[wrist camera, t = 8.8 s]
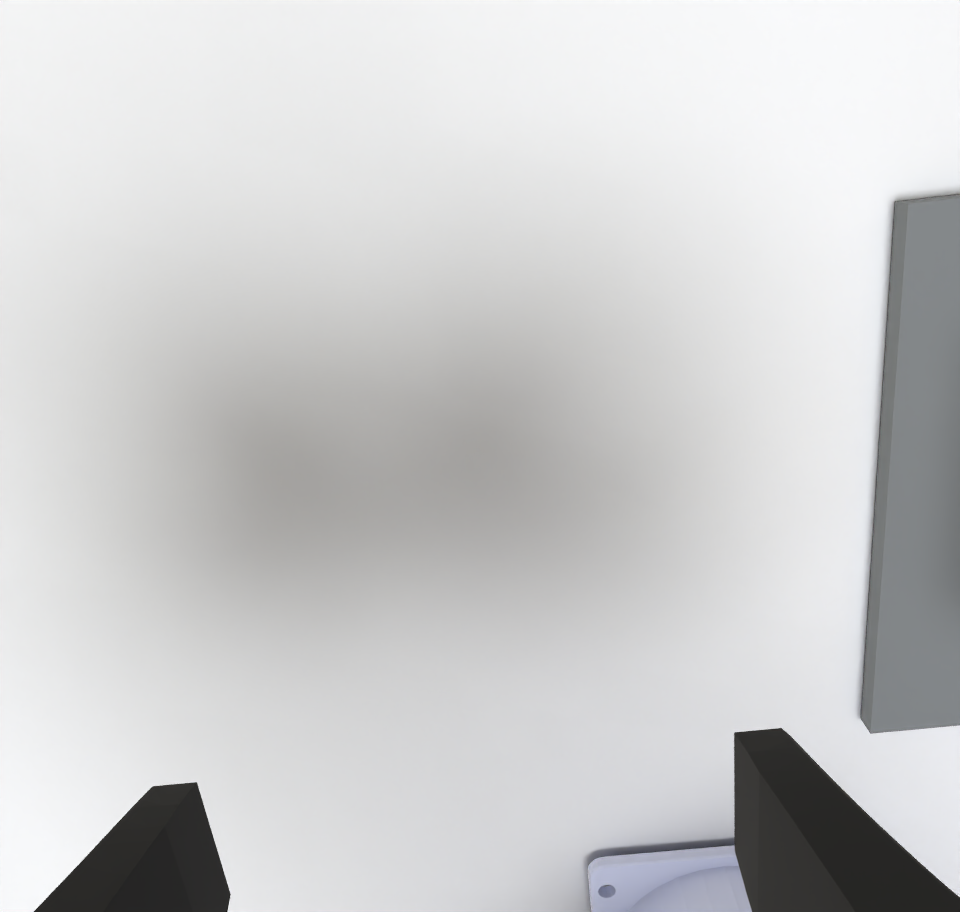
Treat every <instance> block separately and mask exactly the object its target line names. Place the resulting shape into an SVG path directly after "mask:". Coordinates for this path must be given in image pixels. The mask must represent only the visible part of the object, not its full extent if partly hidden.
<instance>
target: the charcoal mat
mask: <svg viewBox="0 0 960 912" xmlns="http://www.w3.org/2000/svg"><path fill="white" fill-rule="evenodd" d="M861 720H862V721H863V723H864V724H865V726H866V727H867V729H868V730H869V732H870V733H881V732H892V731H903V730H914V729H924V728H935V727H946V726H957V725H960V194H957V195H948V196H940V197H931V198H923V199H914V200H905V201H897V202H895V213H894V228H893V243H892V258H891V273H890V288H889V304H888V319H887V334H886V349H885V364H884V379H883V394H882V410H881V425H880V440H879V455H878V470H877V485H876V500H875V516H874V531H873V546H872V561H871V576H870V591H869V606H868V622H867V637H866V652H865V667H864V682H863V697H862V712H861Z"/></svg>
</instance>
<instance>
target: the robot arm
mask: <svg viewBox="0 0 960 912" xmlns="http://www.w3.org/2000/svg"><path fill="white" fill-rule="evenodd" d="M734 773H735V845H731V846H720V847H708V848H697V849H685V850H674V851H662V852H651V853H640V854H628V855H617V856H605V857H600V858H597V859H595V860H593V861H592V862H591V863H590V865H589V866H588V880H589V892H590V903H591V912H960V897H958V896H957V895H956V894H955V893H954V892H953V891H951V890H950V889H949V888H948V887H947V886H945V885H944V884H943V883H942V882H941V881H940V880H939V879H937V878H936V877H935V876H934V875H933V874H932V873H931V872H930V871H928V870H927V869H926V868H925V867H924V866H923V865H922V864H921V863H919V862H918V861H917V860H916V859H915V858H914V857H913V856H912V855H911V854H910V853H909V852H908V851H906V850H905V849H904V848H903V847H902V846H901V845H900V844H899V843H898V842H897V841H896V840H895V839H893V838H892V837H891V836H890V835H889V834H888V833H887V832H886V831H885V830H884V829H883V828H882V827H881V826H879V825H878V824H877V823H876V822H875V821H874V820H873V819H872V818H871V817H870V816H869V815H868V814H867V813H866V812H865V811H864V810H863V809H862V808H861V807H860V806H859V805H858V804H857V803H856V802H855V801H854V800H853V799H852V798H851V797H850V796H849V795H848V794H847V793H846V792H845V791H844V790H843V789H842V788H841V787H840V786H839V785H838V784H836V783H835V781H834V780H833V779H832V778H831V777H830V776H829V775H828V774H827V773H826V772H825V771H824V770H823V769H822V768H821V767H820V766H819V765H818V764H817V763H816V762H815V761H814V760H813V759H812V758H811V757H810V756H809V755H808V754H807V753H806V752H805V751H804V750H803V749H802V748H801V746H800V745H799V744H798V743H797V742H796V741H795V740H794V739H793V738H792V737H791V736H790V735H789V734H788V733H786V732H785V731H784V730H783V729H782V728H778V729H768V730H757V731H746V732H735V733H734ZM604 885H610V886H606V887H603V886H604ZM229 900H230V891H229V888H228V885H227V881H226V878H225V875H224V871H223V868H222V865H221V861H220V858H219V855H218V852H217V848H216V845H215V842H214V838H213V835H212V832H211V828H210V825H209V822H208V818H207V815H206V812H205V808H204V805H203V802H202V798H201V795H200V792H199V788H198V785H197V782H195V783H184V784H174V785H163V786H153V787H152V788H151V789H150V790H149V791H148V792H147V793H146V794H145V795H144V796H143V797H142V798H141V799H140V800H139V801H138V802H137V803H136V804H135V805H134V806H133V807H132V808H131V809H130V810H129V811H128V812H127V813H126V815H125V816H124V817H123V818H122V819H121V820H120V821H119V822H118V823H117V824H116V825H115V826H114V827H113V828H112V830H111V831H110V832H109V833H108V834H107V835H106V836H105V837H104V838H103V839H102V840H101V841H100V842H99V844H98V845H97V846H96V847H95V848H94V849H93V850H92V851H91V852H90V853H89V854H88V855H87V856H86V857H85V859H84V860H83V861H82V862H81V863H80V864H79V865H78V866H77V867H76V868H75V869H74V870H73V871H72V872H71V873H70V874H69V875H68V876H67V878H66V879H65V880H64V881H63V882H62V883H61V884H60V885H59V886H58V887H57V888H56V889H55V890H54V891H53V892H52V893H51V894H50V895H49V896H48V897H47V898H46V899H45V901H44V902H43V903H42V904H41V905H40V906H39V907H38V908H37V909H36V910H35V911H34V912H227V910H228V905H229Z"/></svg>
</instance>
